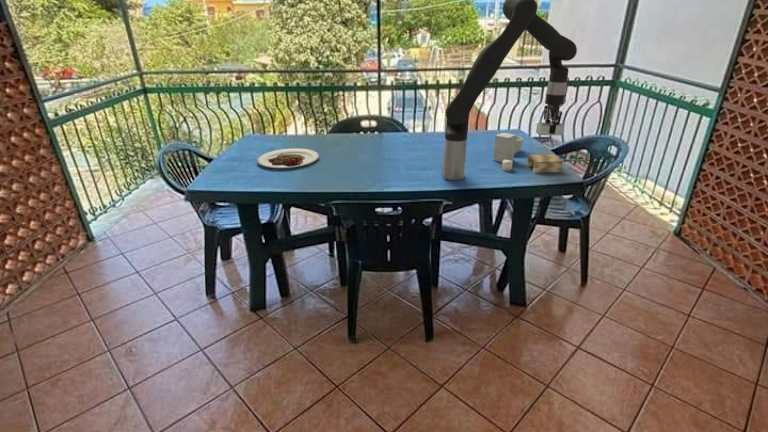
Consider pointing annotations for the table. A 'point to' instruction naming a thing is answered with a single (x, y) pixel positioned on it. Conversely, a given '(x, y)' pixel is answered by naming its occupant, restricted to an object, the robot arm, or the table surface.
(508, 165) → the beige cube
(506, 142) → the supplement box
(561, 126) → the housing
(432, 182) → the table surface
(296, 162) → the plated food
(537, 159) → the stand
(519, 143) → the ramekin
